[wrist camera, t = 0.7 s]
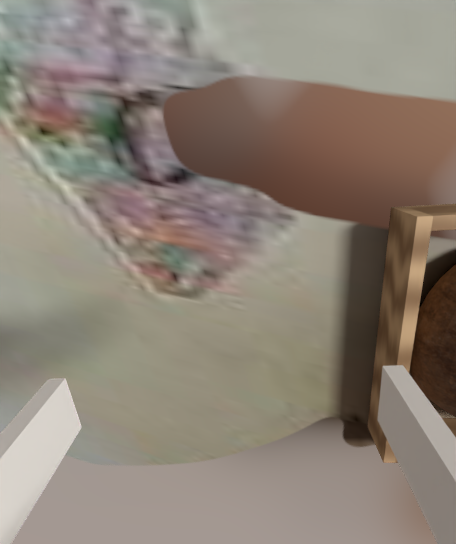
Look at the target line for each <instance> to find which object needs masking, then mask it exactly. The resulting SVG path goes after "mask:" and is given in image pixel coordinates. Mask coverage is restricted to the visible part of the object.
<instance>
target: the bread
mask: <svg viewBox="0 0 456 544" xmlns="http://www.w3.org/2000/svg"><path fill="white" fill-rule="evenodd" d="M410 372H411V375H412V378H413V380H414V381H415V382H416V384H417V385H418V386H419V388H420V389H421V391H422V392H423V393H424V395H425V396H426V397H427V398H428V399H429V400H430V401H432V402H433V403H434V404H436V405H437V406H439V407H440V408H442V409H443V410H445V411H446V412H448V413H450V414H451V415H453V416H455V417H456V264H455V265H454V266H453V267H452V268H451V269H450V270H449V271H447V272H446V273H445V274H444V275H443V276H442V277H441V278H440V279H439V280H438V282H437V283H436V284H435V285H434V287H433V288H432V289H431V290H430V292H429V293H428V295H427V296H426V298H425V300H424V302H423V304H422V305H421V307H420V309H419V312H418V318H417V324H416V331H415V337H414V344H413V350H412V357H411V363H410Z"/></svg>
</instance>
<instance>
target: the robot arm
mask: <svg viewBox="0 0 456 544" xmlns="http://www.w3.org/2000/svg"><path fill="white" fill-rule="evenodd" d="M378 422H379V424H380V426H381V428H382V430H383V432H384V434H385V436H386V438H387V441H388V443H389V445H390V447H391V449H392V451H393V453H394V455H395V457H396V459H397V461H398V463H399V465H400V467H401V469H402V471H403V473H404V476H405V478H406V480H407V482H408V484H409V486H410V488H411V490H412V492H413V494H414V496H415V498H416V500H417V502H418V504H419V506H420V508H421V510H422V513H423V515H424V517H425V519H426V521H427V523H428V525H429V527H430V529H431V531H432V533H433V535H434V537H435V539H436V541H437V543H438V544H456V437H455V436H454V434H453V433H452V432H451V430H450V429H449V428H448V426H447V425H446V423H445V422H444V421H443V419H442V418H441V417H440V415H439V414H438V412H437V411H436V410H435V408H434V407H433V406H432V404H431V403H430V402H429V400H428V399H427V397H426V396H425V395H424V393H423V392H422V391H421V389H420V388H419V386H418V385H417V384H416V382H415V381H414V380H413V378H412V377H411V376H410V374H409V373H408V371H407V370H406V369H405V367H404V366H403V365H394V366H383V367H382V378H381V388H380V399H379V410H378ZM80 429H81V424H80V421H79V418H78V415H77V412H76V409H75V406H74V403H73V400H72V397H71V394H70V391H69V388H68V385H67V381H66V378H56V379H48V380H47V381H46V382H45V383H44V384H43V386H42V387H41V388H40V389H39V390H38V391H37V392H36V394H35V395H34V396H33V397H32V398H31V399H30V400H29V402H28V403H27V404H26V405H25V406H24V407H23V408H22V409H21V411H20V412H19V413H18V414H17V415H16V416H15V417H14V419H13V420H12V421H11V422H10V423H9V424H8V425H7V427H6V428H5V429H4V430H3V431H2V432H1V433H0V544H11V543H12V541H13V540H14V538H15V537H16V535H17V533H18V532H19V530H20V528H21V527H22V525H23V523H24V522H25V520H26V518H27V517H28V515H29V513H30V512H31V510H32V509H33V507H34V505H35V504H36V502H37V500H38V499H39V497H40V495H41V494H42V492H43V490H44V489H45V487H46V485H47V483H48V482H49V480H50V479H51V477H52V475H53V474H54V472H55V470H56V469H57V467H58V465H59V464H60V462H61V460H62V459H63V457H64V456H65V454H66V452H67V451H68V449H69V447H70V446H71V444H72V442H73V441H74V439H75V437H76V436H77V434H78V432H79V431H80Z"/></svg>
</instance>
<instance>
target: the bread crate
mask: <svg viewBox="0 0 456 544" xmlns="http://www.w3.org/2000/svg"><path fill="white" fill-rule="evenodd" d="M439 230H456V204H442V205H425V206H407V207H391V215H390V223H389V232H388V242H387V251H386V260H385V269H384V279H383V288H382V297H381V306H380V316H379V325H378V334H377V344H376V353H375V362H374V371H373V381H372V390H371V399H370V408H369V418H368V429H369V431H370V433H371V436H372V438H373V440H374V442H375V445H376V447H377V449H378V451H379V454H380V456H381V458H382V460H383V462H384V463H398V461H397V459H396V457H395V455H394V453H393V451H392V449H391V447H390V445H389V443H388V441H387V438H386V436H385V434H384V432H383V430H382V428H381V426H380V424H379V422H378V410H379V399H380V388H381V378H382V367H383V366H394V365H403V366H404V367H405V369H406V370H407V371H408V373H409V370H410V363H411V357H412V350H413V344H414V337H415V331H416V324H417V318H418V312H419V305H420V299H421V292H422V286H423V279H424V273H425V266H426V260H427V253H428V247H429V240H430V234H431V231H439ZM442 419H443V421H444V422H445V423H446V425H447V426H448V428H449V429H450V430H451V432H452V433H453V434H454V436H455V437H456V418H442Z"/></svg>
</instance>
